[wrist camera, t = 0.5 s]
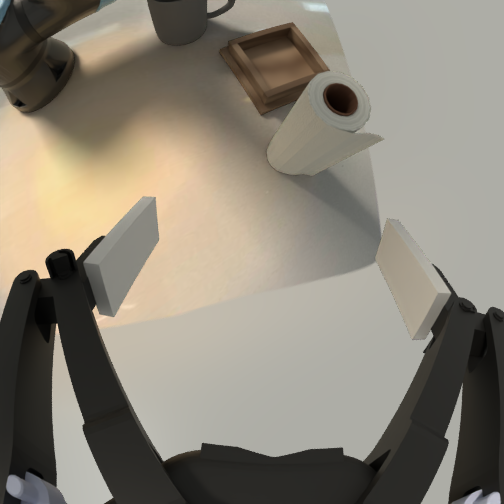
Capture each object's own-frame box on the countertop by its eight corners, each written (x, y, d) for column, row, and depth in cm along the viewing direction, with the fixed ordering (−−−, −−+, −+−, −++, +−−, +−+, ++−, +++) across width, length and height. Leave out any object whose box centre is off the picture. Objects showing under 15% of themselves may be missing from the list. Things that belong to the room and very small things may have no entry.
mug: (155, 50, 38) (142, 8, 26) (157, 16, 37) (147, -25, 26) (234, 41, 40) (240, -3, 28) (230, 8, 39) (235, -35, 27)
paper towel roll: (261, 141, 42) (298, 72, 21) (297, 133, 42) (357, 68, 21) (274, 185, 43) (326, 148, 21) (311, 176, 43) (385, 138, 22)
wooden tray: (219, 52, 40) (219, 39, 36) (289, 29, 41) (294, 17, 37) (260, 115, 41) (265, 105, 37) (331, 87, 42) (340, 77, 38)
